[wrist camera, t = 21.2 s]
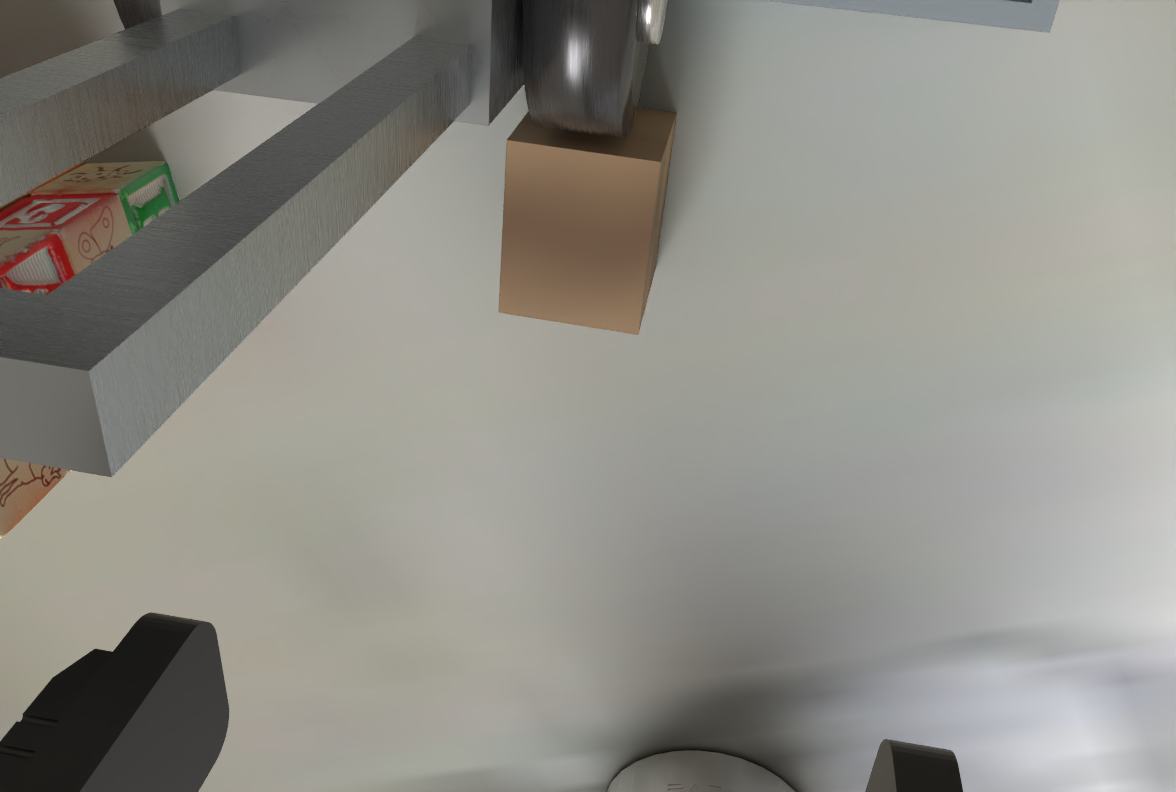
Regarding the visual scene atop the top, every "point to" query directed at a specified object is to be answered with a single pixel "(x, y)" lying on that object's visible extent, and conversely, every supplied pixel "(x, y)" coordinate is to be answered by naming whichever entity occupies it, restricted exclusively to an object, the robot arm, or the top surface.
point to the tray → (956, 10)
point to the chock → (584, 222)
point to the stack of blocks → (69, 263)
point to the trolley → (260, 176)
